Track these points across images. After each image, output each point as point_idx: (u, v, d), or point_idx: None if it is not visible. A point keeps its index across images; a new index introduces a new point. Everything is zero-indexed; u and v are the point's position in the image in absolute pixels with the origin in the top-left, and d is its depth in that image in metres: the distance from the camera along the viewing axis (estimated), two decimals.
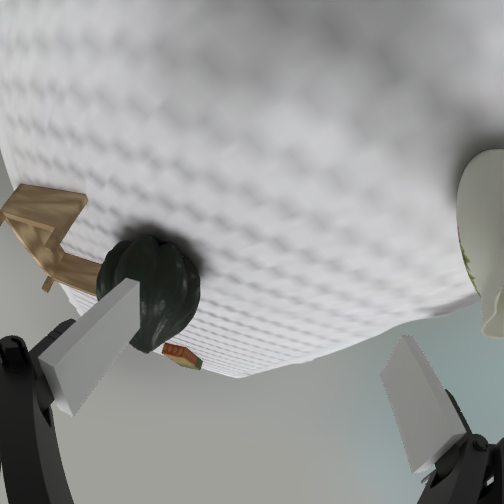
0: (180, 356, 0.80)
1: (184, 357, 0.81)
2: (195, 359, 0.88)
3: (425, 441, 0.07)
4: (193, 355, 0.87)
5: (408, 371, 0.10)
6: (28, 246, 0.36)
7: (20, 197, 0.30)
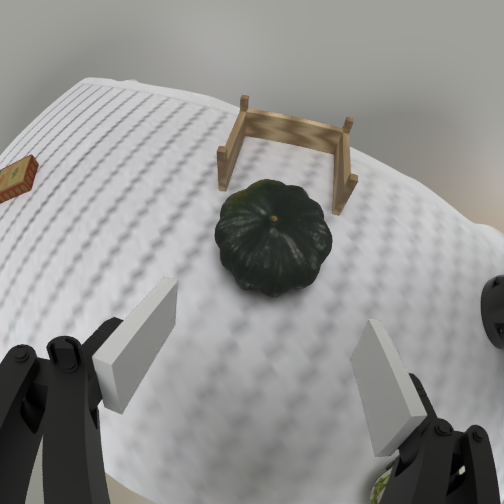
0: (24, 177, 0.42)
1: (21, 182, 0.41)
2: (1, 197, 0.42)
3: (386, 423, 0.08)
4: (9, 197, 0.43)
5: (373, 354, 0.11)
6: (300, 122, 0.46)
7: None
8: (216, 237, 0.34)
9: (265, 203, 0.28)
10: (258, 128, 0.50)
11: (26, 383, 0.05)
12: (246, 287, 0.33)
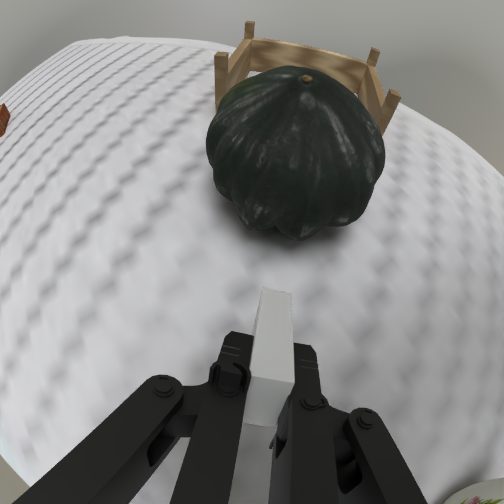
0: None
1: None
2: None
3: None
4: None
5: None
6: (317, 51, 0.33)
7: None
8: (208, 143, 0.20)
9: (288, 70, 0.15)
10: (266, 60, 0.36)
11: (164, 421, 0.06)
12: (255, 218, 0.20)
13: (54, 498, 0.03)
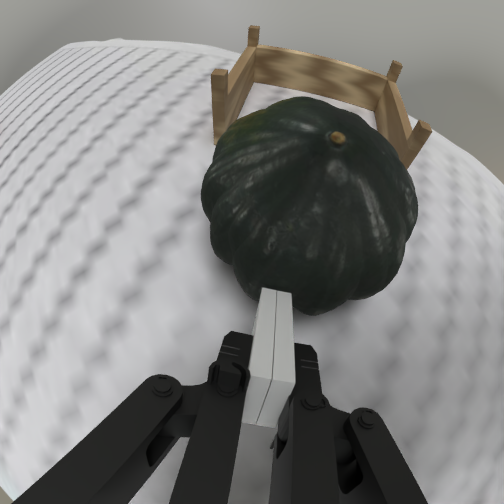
0: None
1: None
2: None
3: None
4: None
5: None
6: (331, 63, 0.29)
7: None
8: (203, 199, 0.17)
9: (310, 114, 0.12)
10: (272, 71, 0.32)
11: (164, 421, 0.06)
12: None
13: (54, 498, 0.03)
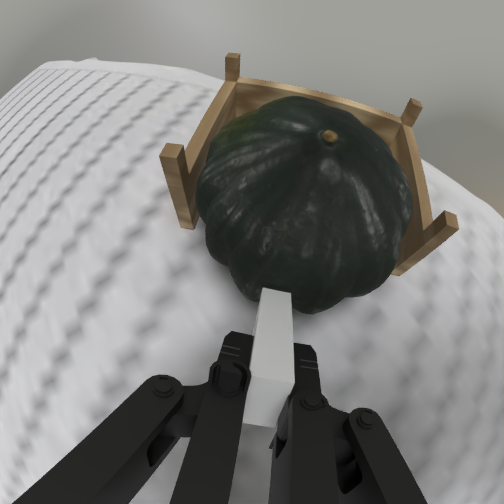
0: None
1: None
2: None
3: None
4: None
5: None
6: (332, 102, 0.25)
7: None
8: (197, 201, 0.17)
9: (301, 114, 0.12)
10: None
11: (165, 421, 0.06)
12: (258, 298, 0.17)
13: (54, 498, 0.03)
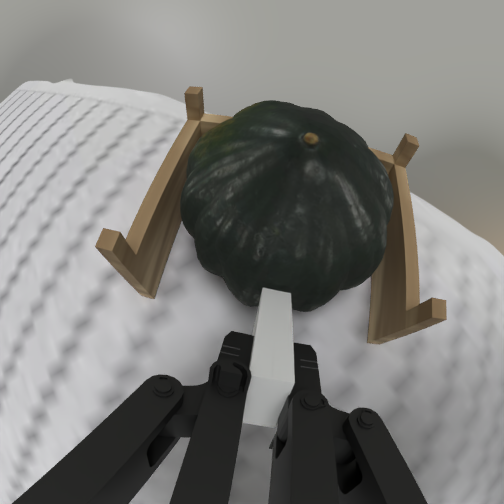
0: None
1: None
2: None
3: None
4: None
5: None
6: None
7: None
8: (184, 215, 0.17)
9: (279, 119, 0.12)
10: None
11: (164, 421, 0.06)
12: (256, 303, 0.17)
13: (54, 498, 0.03)
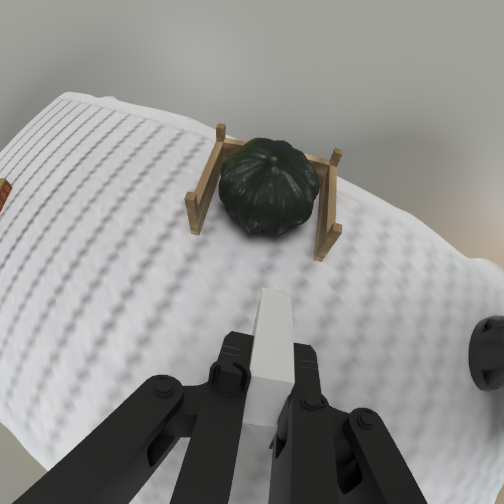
0: None
1: (4, 182, 0.41)
2: None
3: None
4: None
5: None
6: None
7: None
8: (221, 190, 0.38)
9: (263, 150, 0.33)
10: None
11: (165, 421, 0.06)
12: (254, 228, 0.38)
13: (54, 498, 0.03)
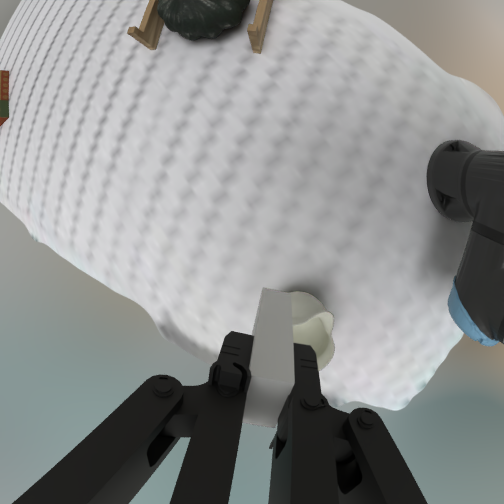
0: None
1: (1, 72, 0.36)
2: (4, 96, 0.40)
3: None
4: (7, 89, 0.40)
5: None
6: None
7: None
8: (159, 15, 0.30)
9: None
10: None
11: (165, 421, 0.06)
12: (189, 37, 0.33)
13: (54, 498, 0.03)
